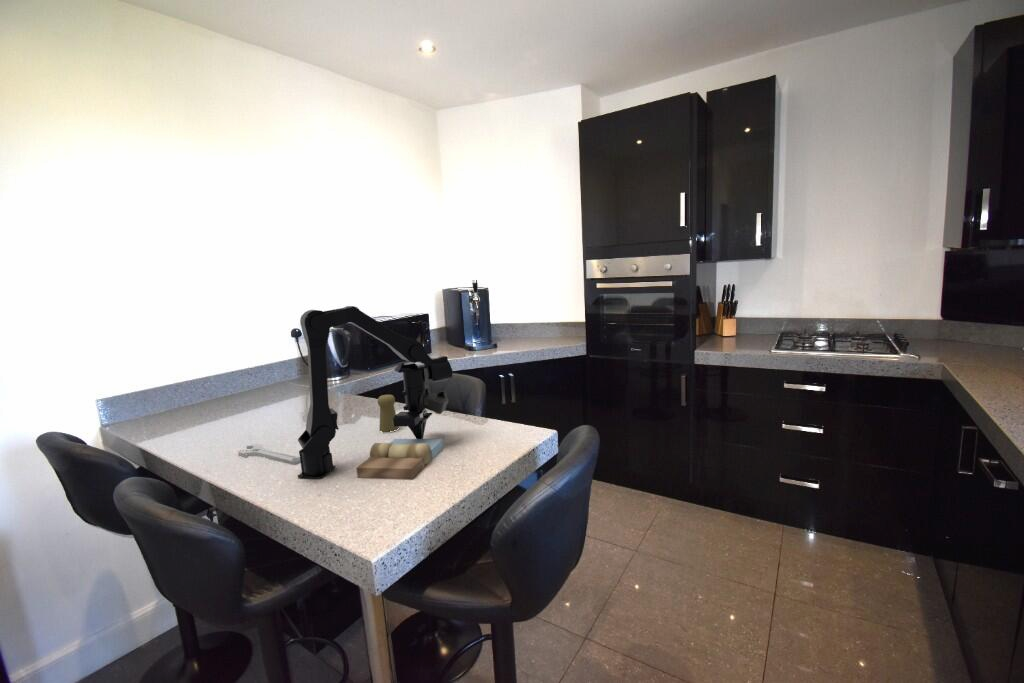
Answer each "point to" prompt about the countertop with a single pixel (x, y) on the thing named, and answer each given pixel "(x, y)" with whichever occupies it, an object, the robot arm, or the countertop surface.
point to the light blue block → (401, 445)
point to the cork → (387, 413)
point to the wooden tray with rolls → (394, 462)
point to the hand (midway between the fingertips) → (420, 440)
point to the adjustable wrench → (269, 454)
